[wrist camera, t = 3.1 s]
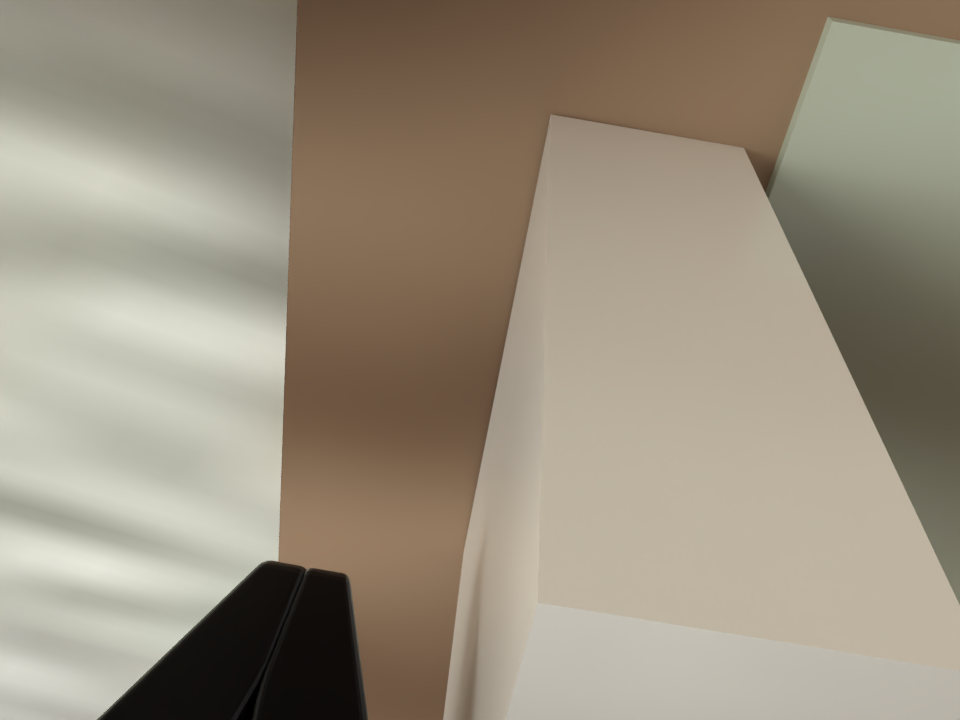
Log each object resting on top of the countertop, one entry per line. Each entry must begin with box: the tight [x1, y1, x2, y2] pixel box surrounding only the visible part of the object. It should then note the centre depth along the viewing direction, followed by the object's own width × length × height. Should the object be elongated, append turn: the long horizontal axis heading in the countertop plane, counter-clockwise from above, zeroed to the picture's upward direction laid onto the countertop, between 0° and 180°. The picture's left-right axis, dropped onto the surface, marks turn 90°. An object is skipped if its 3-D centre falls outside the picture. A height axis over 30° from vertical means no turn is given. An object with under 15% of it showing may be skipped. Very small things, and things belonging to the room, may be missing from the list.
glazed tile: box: [443, 114, 960, 720], centre depth 9 cm, size 7×2×7 cm, turn 171°
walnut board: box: [278, 0, 960, 720], centre depth 13 cm, size 16×19×1 cm
